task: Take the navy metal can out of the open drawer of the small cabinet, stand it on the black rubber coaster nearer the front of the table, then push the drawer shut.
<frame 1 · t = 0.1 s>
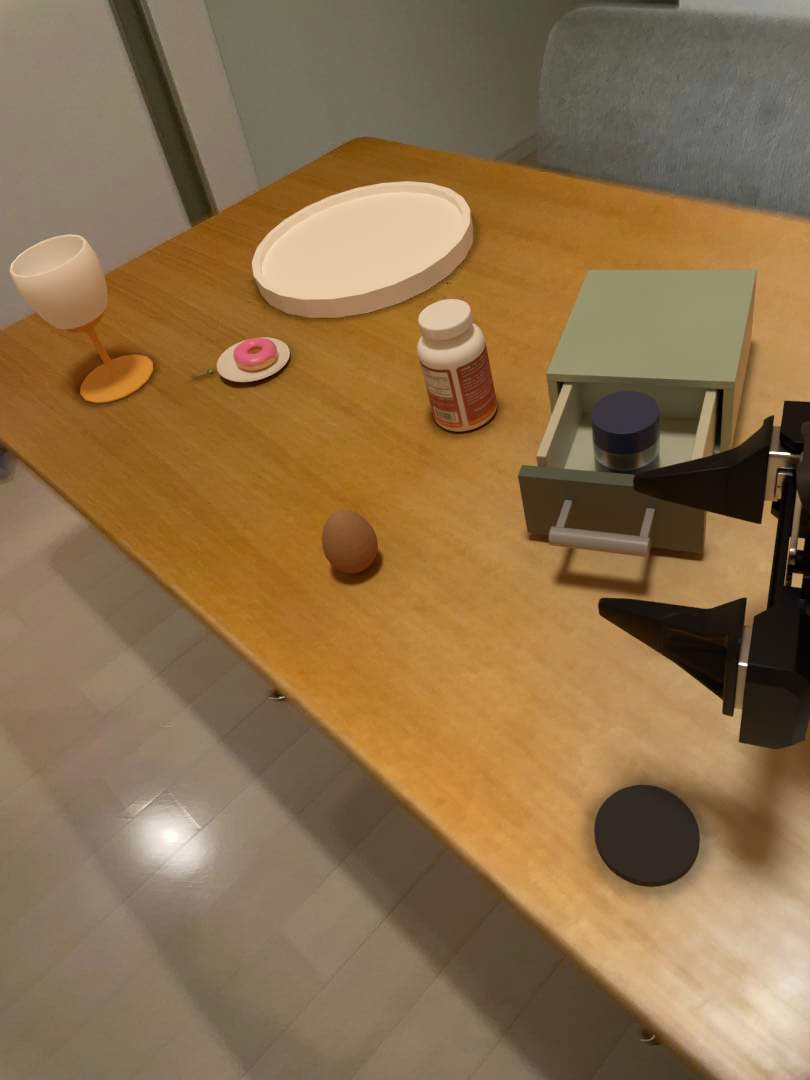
hand: (617, 540, 47), 16 cm above the table, tool horizontal, fingers open, 9 cm apart
egg: (359, 566, 72), on the table
small cabinet: (655, 396, 78), on the table
pill bottle: (465, 414, 82), on the table
cup: (118, 380, 101), on the table
plate: (364, 255, 108), on the table
donut: (244, 370, 96), on the table
coaster: (646, 835, 51), on the table
drawer: (623, 467, 67), point 4 cm above the table, slide at 10.0 cm, touching can
can: (627, 474, 69), point 2 cm above the table, touching drawer
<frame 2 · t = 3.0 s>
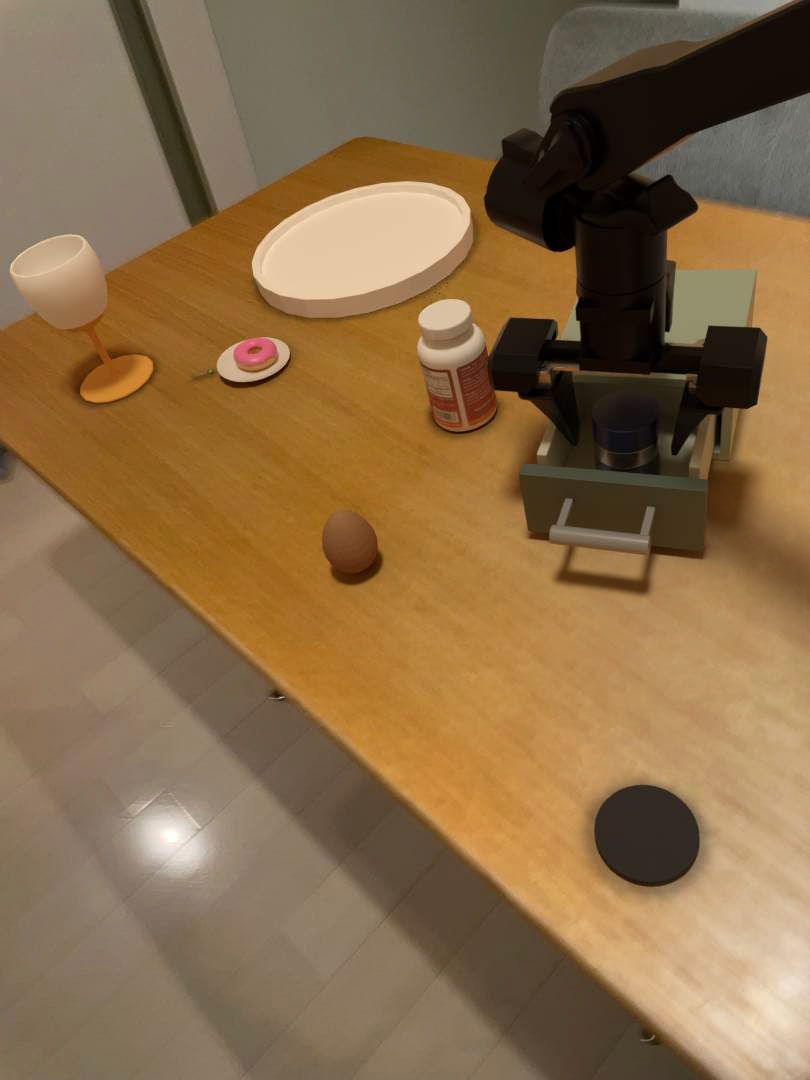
hand: (624, 446, 67), 5 cm above the table, tool pointing down, fingers open, 7 cm apart
drawer: (623, 465, 67), point 4 cm above the table, slide at 9.8 cm, touching can, gripper
everything else where it was.
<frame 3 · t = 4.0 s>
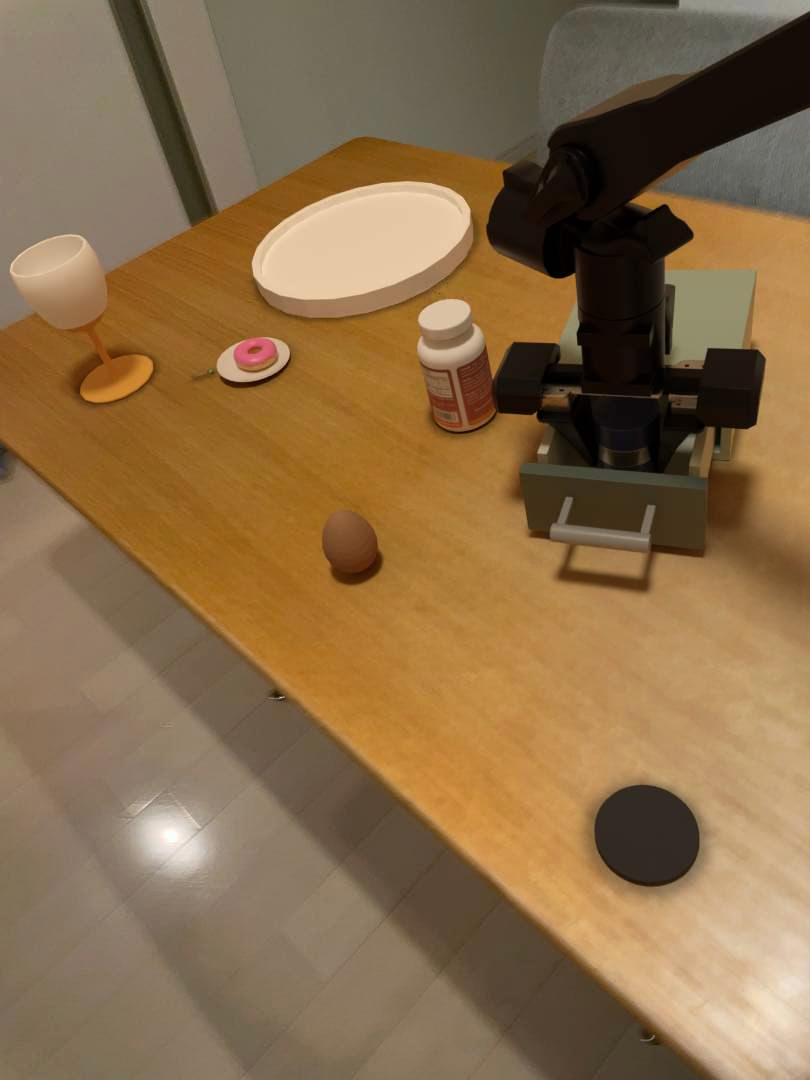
hand: (627, 466, 69), 3 cm above the table, tool pointing down, fingers closed on can, 5 cm apart
drawer: (624, 464, 67), point 4 cm above the table, slide at 9.7 cm, touching can
can: (628, 471, 69), point 2 cm above the table, touching drawer, gripper
everything else where it was.
when the fingers open (1 cm above the table, at t = 10.2 s): can stays where it is, resting on coaster.
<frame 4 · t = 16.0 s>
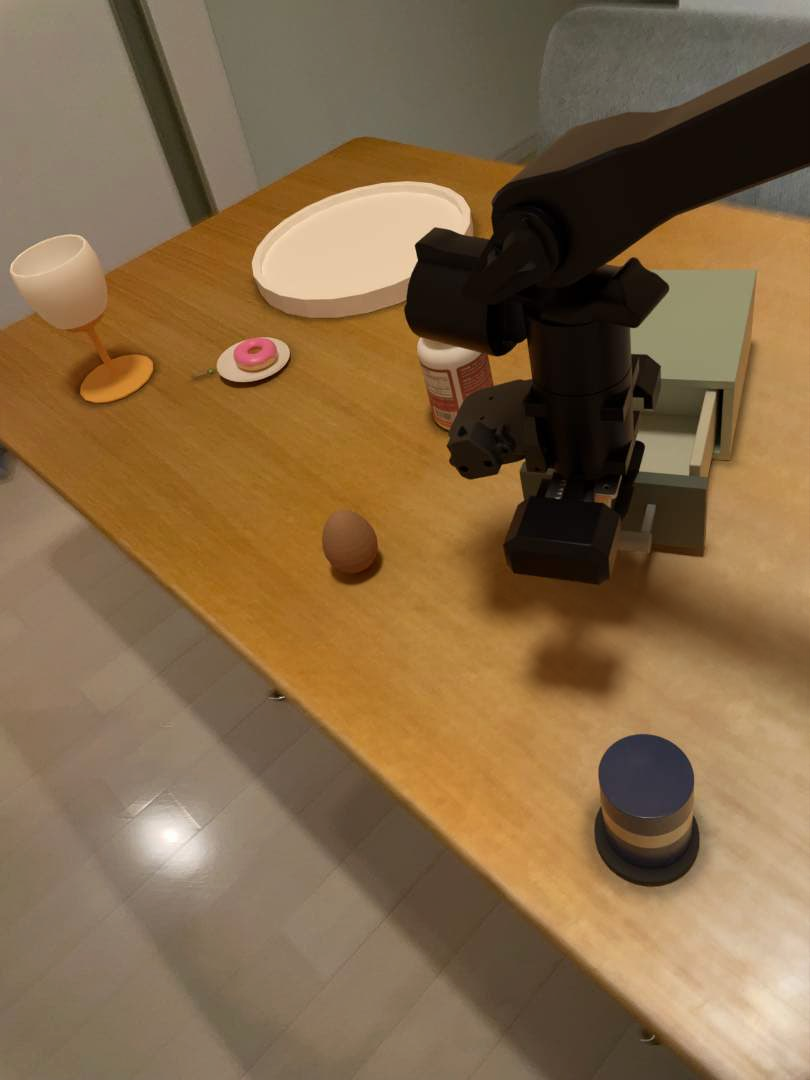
hand: (595, 545, 61), 5 cm above the table, tool pointing down, fingers closed
drawer: (624, 463, 67), point 4 cm above the table, slide at 9.6 cm, touching gripper
can: (647, 827, 51), point 1 cm above the table, touching coaster
everything else where it was.
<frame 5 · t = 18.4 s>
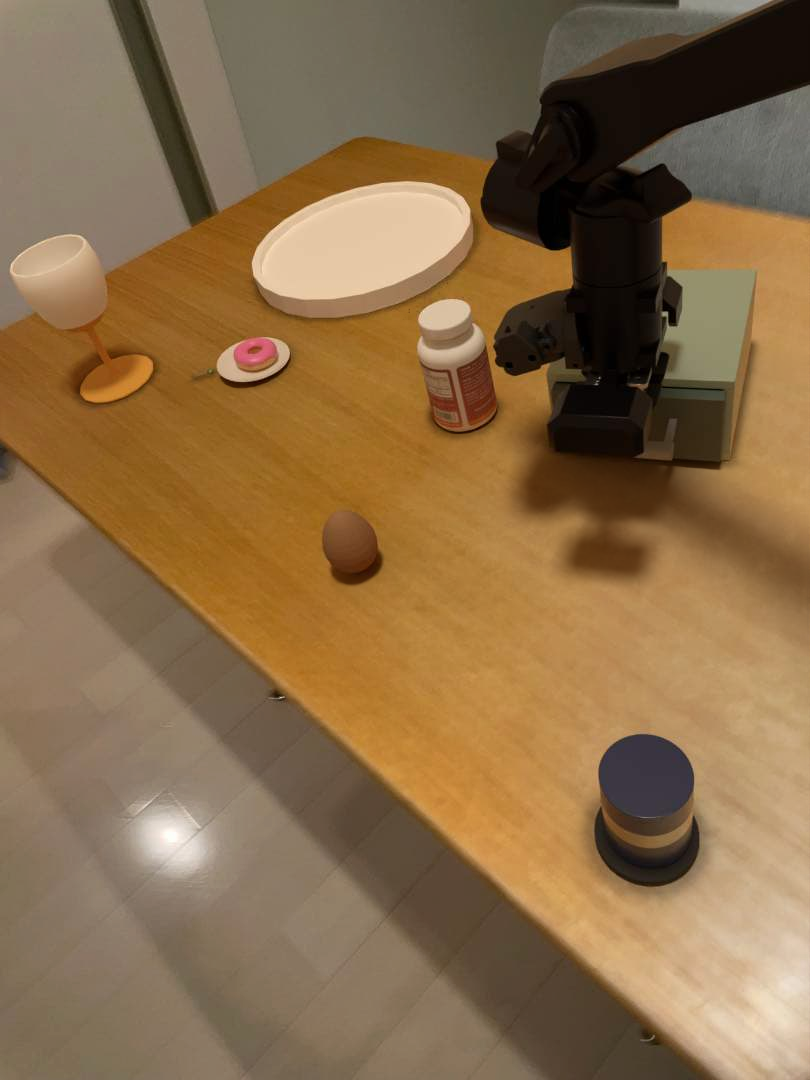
hand: (623, 452, 67), 5 cm above the table, tool pointing down, fingers closed, pressing on drawer
drawer: (646, 387, 73), point 4 cm above the table, slide at 0.0 cm, touching small cabinet, gripper
everything else where it was.
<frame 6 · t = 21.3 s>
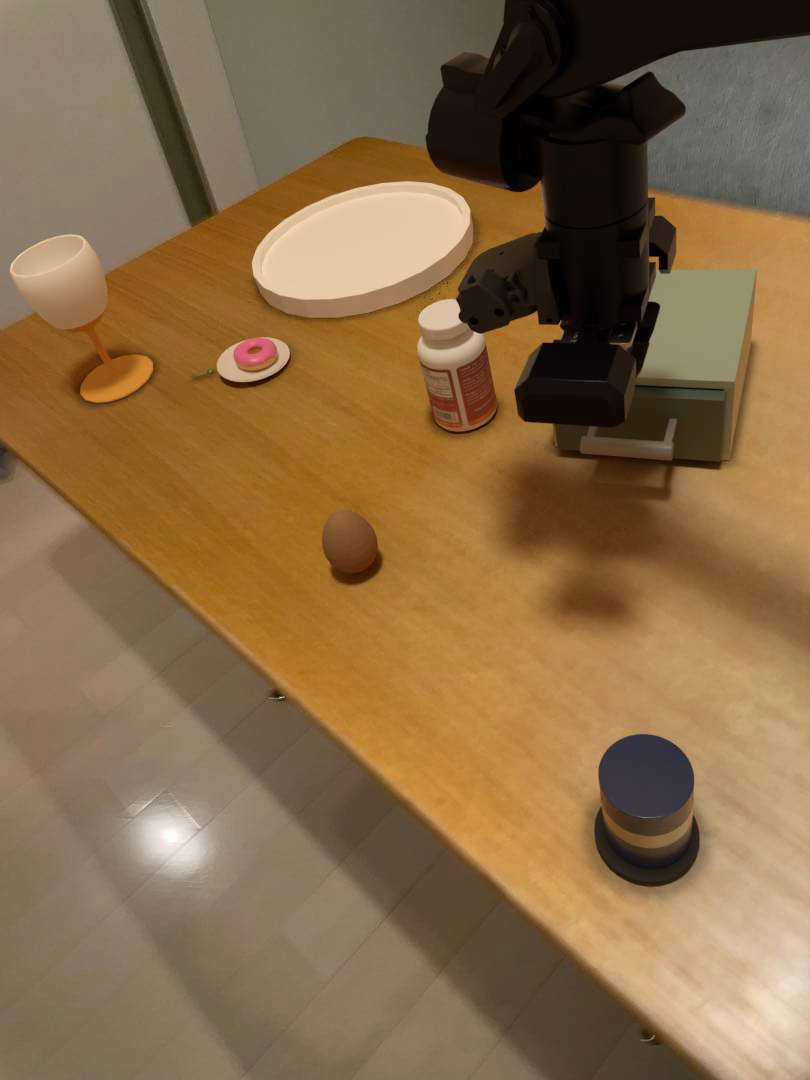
hand: (608, 418, 59), 12 cm above the table, tool pointing down, fingers closed
drawer: (646, 387, 73), point 4 cm above the table, slide at 0.0 cm, touching small cabinet
everything else where it was.
at the end: can 0.3 cm from the coaster (horizontally); can tilted 0°; drawer slide at 0.0 cm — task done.
